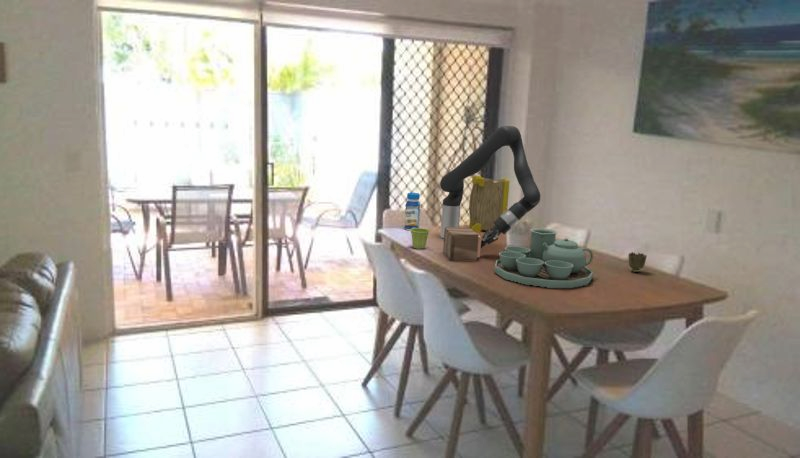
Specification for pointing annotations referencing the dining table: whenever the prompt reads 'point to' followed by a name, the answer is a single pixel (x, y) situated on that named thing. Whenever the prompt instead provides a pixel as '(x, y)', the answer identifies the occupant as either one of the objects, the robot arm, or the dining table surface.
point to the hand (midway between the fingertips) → (478, 247)
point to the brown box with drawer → (460, 244)
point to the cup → (637, 261)
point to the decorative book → (487, 202)
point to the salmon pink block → (479, 246)
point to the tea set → (545, 262)
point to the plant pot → (419, 237)
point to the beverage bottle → (412, 211)
